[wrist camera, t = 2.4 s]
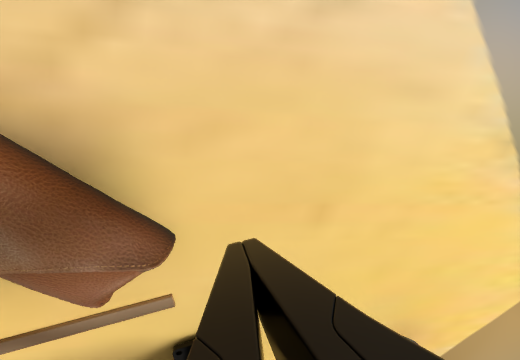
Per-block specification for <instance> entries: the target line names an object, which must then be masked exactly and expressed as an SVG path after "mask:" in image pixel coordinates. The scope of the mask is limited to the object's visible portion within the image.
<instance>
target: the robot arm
mask: <svg viewBox="0 0 520 360" xmlns="http://www.w3.org/2000/svg"><path fill="white" fill-rule="evenodd" d="M258 315H259V318H260V320H261V323H262V326H263V328H264V331H265V333H266V336H267V338H268V341H269V343H270V346H271V348H272V351H273V353H274V356H275V358H276V360H444V359H443V358H441V357H439V356H437V355H436V354H434V353H432V352H430V351H428V350H427V349H425V348H423V347H421V346H419V345H418V344H416V343H414V342H412V341H411V340H409V339H407V338H405V337H403V336H402V335H400V334H398V333H396V332H395V331H393V330H391V329H389V328H388V327H386V326H384V325H383V324H381V323H379V322H377V321H376V320H374V319H372V318H371V317H369V316H367V315H366V314H364V313H363V312H361V311H360V310H358V309H357V308H355V307H354V306H352V305H351V304H349V303H348V302H346V301H345V300H344V299H342V298H341V297H339V296H337V297H336V294H335V293H333V292H332V291H330V290H329V289H328V288H326V287H325V286H323V285H322V284H320V283H319V282H317V281H316V280H315V279H313V278H312V277H310V276H309V275H307V274H306V273H305V272H303V271H302V270H300V269H299V268H297V267H296V266H294V265H293V264H292V263H290V262H289V261H287V260H286V259H284V258H283V257H282V256H280V255H279V254H277V253H276V252H274V251H273V250H272V249H270V248H269V247H267V246H266V245H264V244H263V243H261V242H260V241H259V240H257V239H255V238H252V239H248V240H244V241H243V242H242V243H241V242H236V243H232V244H229V245H228V246H227V248H226V251H225V254H224V257H223V260H222V262H221V265H220V268H219V271H218V274H217V277H216V279H215V282H214V285H213V288H212V291H211V294H210V296H209V299H208V302H207V305H206V308H205V311H204V313H203V316H202V319H201V322H200V325H199V327H198V330H197V333H196V336H195V338H196V339H194V340H192V341H189V342H185V343H182V344H179V345H176V346H175V347H174V348H173V357H174V360H264V354H263V346H262V339H261V331H260V324H259V318H258Z"/></svg>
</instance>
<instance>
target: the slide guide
mask: <svg viewBox="0 0 520 360" xmlns="http://www.w3.org/2000/svg"><path fill="white" fill-rule="evenodd" d="M172 307H175V302H174V299H173V296H172V294H171V295H167V296H163V297H160V298H156V299H152V300H148V301H145V302H141V303H137V304H133V305H130V306H126V307H122V308H118V309H115V310H111V311H107V312H103V313H100V314H96V315H92V316H88V317H85V318H81V319H77V320H73V321H70V322H66V323H62V324H58V325H55V326H51V327H47V328H43V329H40V330H36V331H32V332H29V333H25V334H21V335H17V336H14V337H10V338H6V339H2V340H0V355H1V354H5V353H9V352H12V351H16V350H19V349H23V348H27V347H30V346H34V345H38V344H41V343H45V342H49V341H52V340H56V339H59V338H63V337H67V336H70V335H74V334H78V333H81V332H85V331H88V330H92V329H96V328H99V327H103V326H107V325H110V324H114V323H117V322H121V321H125V320H128V319H132V318H136V317H139V316H143V315H146V314H150V313H154V312H157V311H161V310H165V309H168V308H172Z"/></svg>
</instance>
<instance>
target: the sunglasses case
mask: <svg viewBox="0 0 520 360" xmlns="http://www.w3.org/2000/svg"><path fill="white" fill-rule="evenodd" d="M175 240H176V238H175V234H173V233H172V232H171V231H170V230H168V229H167V228H165V227H164V226H162V225H160V224H159V223H157V222H155V221H153V220H151V219H150V218H148V217H146V216H144V215H142V214H141V213H139V212H137V211H135V210H133V209H131V208H129V207H127V206H125V205H123V204H122V203H120V202H118V201H116V200H114V199H113V198H111V197H109V196H108V195H106V194H104V193H102V192H101V191H99V190H97V189H95V188H93V187H92V186H90V185H88V184H86V183H84V182H82V181H81V180H79V179H76V178H75V177H73V176H72V175H70V174H69V173H67V172H65V171H63V170H62V169H60V168H58V167H56V166H54V165H53V164H51V163H49V162H48V161H46V160H44V159H43V158H41V157H39V156H38V155H36V154H34V153H32V152H30V151H29V150H27V149H25V148H23V147H22V146H20V145H18V144H16V143H15V142H13V141H11V140H10V139H8V138H6V137H4V136H3V135H1V134H0V277H1V278H4V279H6V280H9V281H11V282H13V283H16V284H19V285H22V286H24V287H26V288H29V289H32V290H35V291H38V292H41V293H43V294H46V295H49V296H52V297H56V298H58V299H61V300H64V301H68V302H70V303H73V304H77V305H81V306H85V307H90V308H98V307H101V306H103V305H104V304H105V303H107V302H108V301H109V300H110V298H111V297H112V295H113V293H114V292H115V291H116V290H118V289H119V288H121V287H122V286H124V285H125V284H126V283H128V282H130V281H131V280H133V279H134V278H136V277H137V276H138V275H140V274H142V273H143V272H145V271H148V270H151V269H154V268H156V267H158V266H160V265H161V264H162V263H163V262H164V261H165V260H166V258H167V257H168V256H169V254H170V252H171V251H172V249H173V246H174V243H175Z"/></svg>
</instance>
